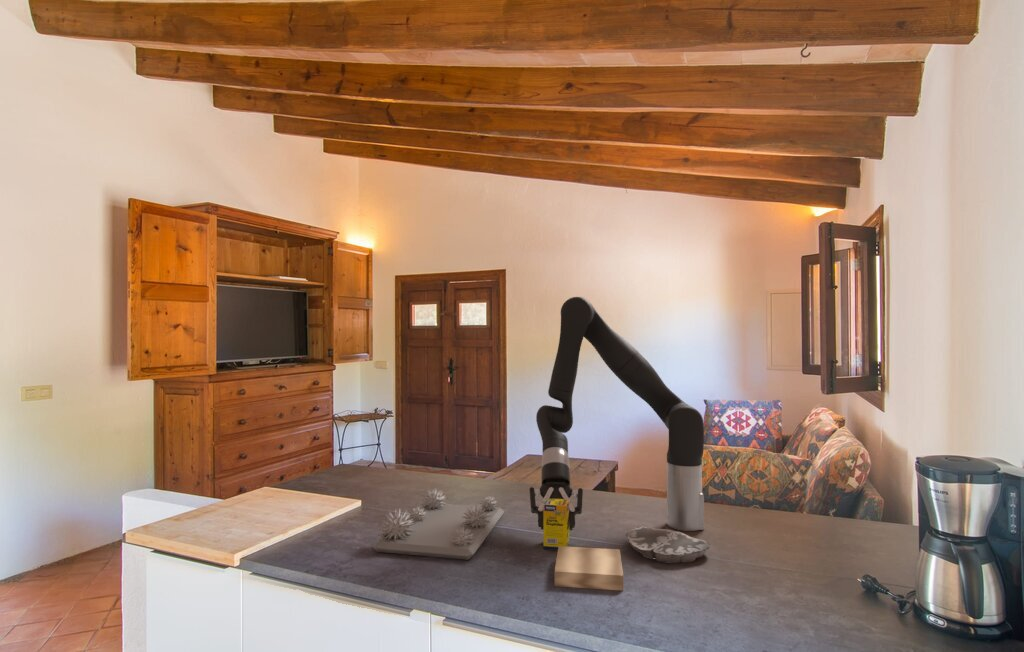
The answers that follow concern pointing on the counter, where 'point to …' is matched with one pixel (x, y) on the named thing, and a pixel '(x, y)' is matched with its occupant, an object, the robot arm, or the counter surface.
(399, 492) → the counter surface
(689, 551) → the brain slice
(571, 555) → the oak base board
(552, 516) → the supplement box
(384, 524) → the decorative tray
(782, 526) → the counter surface
